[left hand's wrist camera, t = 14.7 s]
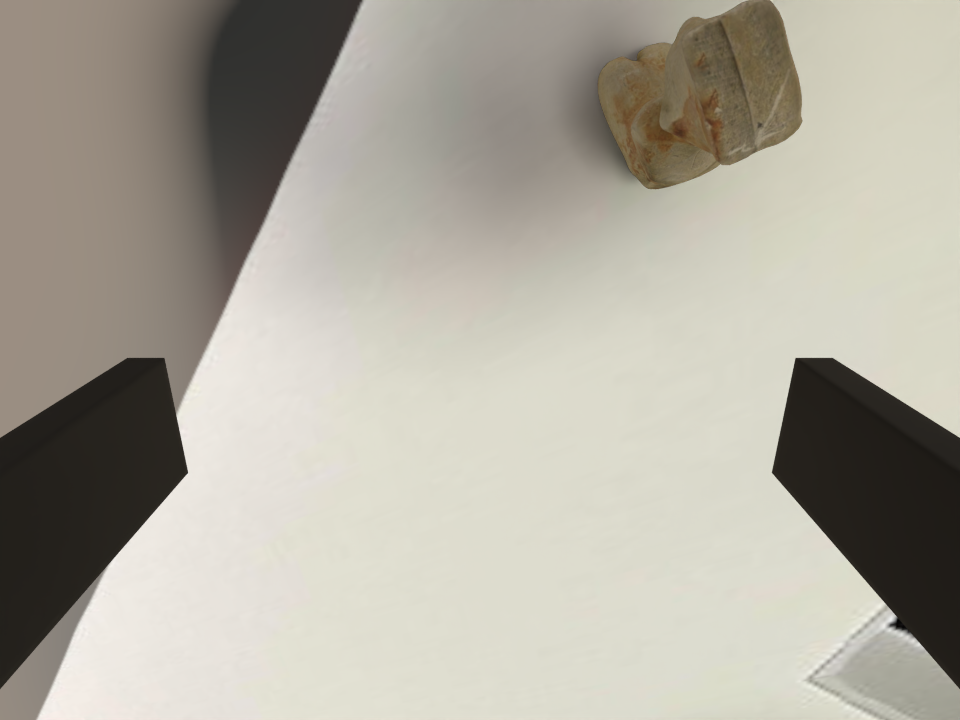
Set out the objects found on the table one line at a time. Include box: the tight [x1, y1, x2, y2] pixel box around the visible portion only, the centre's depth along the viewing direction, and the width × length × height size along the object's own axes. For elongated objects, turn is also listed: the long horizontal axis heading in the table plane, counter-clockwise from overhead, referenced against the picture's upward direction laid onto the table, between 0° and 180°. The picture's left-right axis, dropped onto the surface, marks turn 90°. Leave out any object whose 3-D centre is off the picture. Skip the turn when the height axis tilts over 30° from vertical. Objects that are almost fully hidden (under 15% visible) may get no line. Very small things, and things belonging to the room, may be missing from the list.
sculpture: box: [598, 0, 802, 189], centre depth 27 cm, size 6×7×15 cm
